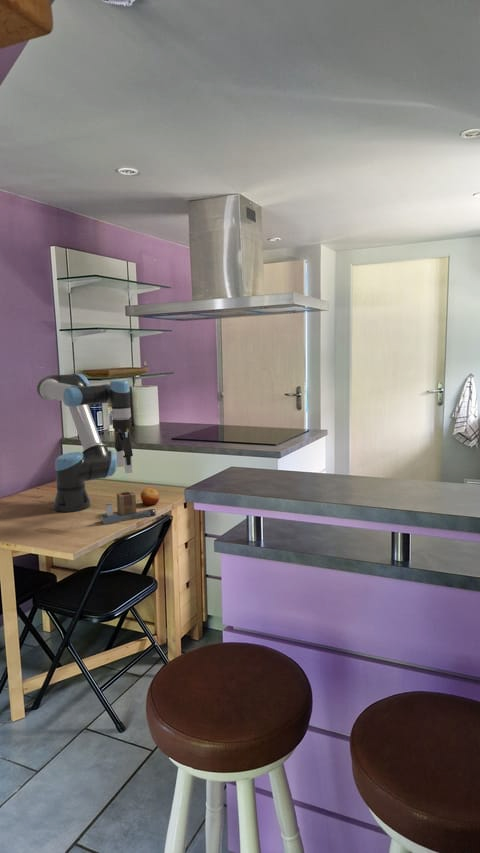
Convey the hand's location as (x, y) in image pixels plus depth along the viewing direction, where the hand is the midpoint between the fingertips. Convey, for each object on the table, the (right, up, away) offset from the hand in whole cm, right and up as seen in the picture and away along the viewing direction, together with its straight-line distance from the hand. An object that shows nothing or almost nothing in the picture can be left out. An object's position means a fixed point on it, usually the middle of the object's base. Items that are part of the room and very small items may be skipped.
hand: (124, 469), depth 222 cm
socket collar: (0, -18, +3) cm, 18 cm away
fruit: (+8, -16, +14) cm, 23 cm away
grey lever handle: (+3, -19, -6) cm, 20 cm away
